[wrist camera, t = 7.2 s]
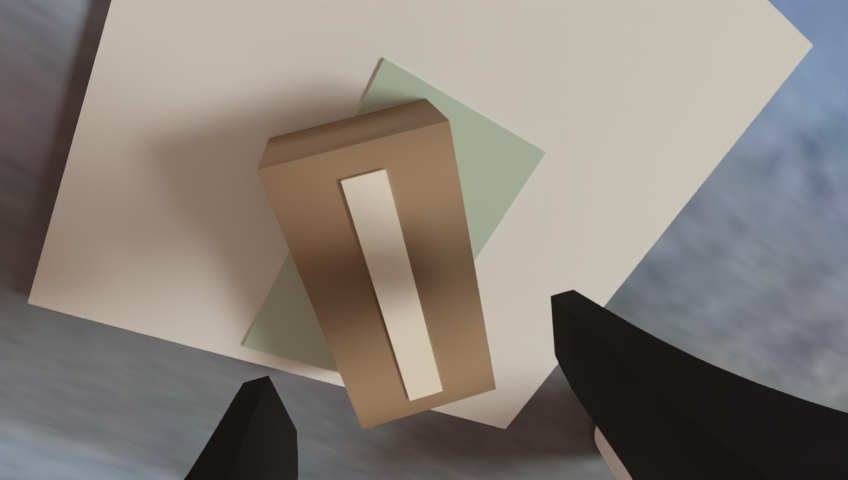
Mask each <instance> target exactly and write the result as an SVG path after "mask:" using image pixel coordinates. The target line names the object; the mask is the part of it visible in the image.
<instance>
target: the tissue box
mask: <svg viewBox="0 0 848 480" xmlns="http://www.w3.org/2000/svg"><path fill="white" fill-rule="evenodd" d="M257 171H258V174H259V176H260V179H261V181H262V184H263V186H264V188H265V191H266V193H267V196H268V198H269V201H270V203H271V206H272V208H273V211H274V213H275V216H276V218H277V220H278V223H279V225H280V228H281V230H282V233H283V235H284V238H285V240H286V243H287V245H288V247H289V250H290V252H291V255H292V257H293V260H294V262H295V265H296V267H297V270H298V272H299V274H300V277H301V279H302V282H303V284H304V287H305V289H306V292H307V294H308V297H309V299H310V302H311V304H312V306H313V309H314V311H315V314H316V316H317V319H318V321H319V324H320V326H321V329H322V331H323V333H324V336H325V338H326V341H327V343H328V346H329V348H330V351H331V353H332V356H333V358H334V360H335V363H336V365H337V368H338V370H339V373H340V375H341V378H342V380H343V383H344V385H345V387H346V390H347V392H348V395H349V397H350V400H351V402H352V405H353V407H354V410H355V412H356V415H357V417H358V419H359V422H360V424H361V427H362V429H367V428H370V427H373V426H376V425H380V424H383V423H386V422H390V421H393V420H396V419H399V418H403V417H406V416H409V415H413V414H416V413H419V412H422V411H426V410H429V409H432V408H436V407H439V406H442V405H445V404H449V403H452V402H455V401H459V400H462V399H465V398H468V397H472V396H475V395H478V394H482V393H485V392H488V391H491V390H495V389H496V386H495V380H494V374H493V368H492V363H491V357H490V351H489V345H488V340H487V334H486V328H485V322H484V317H483V311H482V305H481V299H480V294H479V288H478V282H477V276H476V271H475V265H474V259H473V253H472V248H471V242H470V236H469V230H468V225H467V219H466V213H465V207H464V202H463V196H462V190H461V184H460V179H459V173H458V167H457V161H456V156H455V150H454V144H453V138H452V133H451V127H450V121H449V120H448V119H447V118H446V117H445V116H444V115H443V114H442V113H441V112H440V111H439V110H438V109H437V108H436V107H435V106H434V105H433V104H432V103H431V102H429V101H428V100H427V99H423V100H419V101H415V102H411V103H407V104H403V105H399V106H395V107H391V108H387V109H383V110H379V111H375V112H371V113H367V114H363V115H360V116H356V117H352V118H348V119H344V120H340V121H336V122H332V123H328V124H324V125H320V126H316V127H312V128H308V129H304V130H300V131H296V132H292V133H288V134H284V135H280V136H276V137H272V138H269V140H268V143H267V145H266V148H265V151H264V153H263V156H262V158H261V161H260V163H259V166H258V169H257Z"/></svg>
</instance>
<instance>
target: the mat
mask: <svg viewBox="0 0 848 480" xmlns="http://www.w3.org/2000/svg"><path fill="white" fill-rule="evenodd" d="M812 46H813V45H812V44H811V43H810V42H809V41H808V40H807V39H806V38H805V37H804V36H803V35H802V34H801V33H800V32H799V31H798V30H797V29H796V28H795V27H794V26H793V25H792V24H791V23H790V22H789V21H788V20H787V19H786V18H785V17H784V16H783V15H782V14H781V13H780V12H779V11H778V10H777V9H776V8H775V7H774V6H773V5H772V4H771V3H770V2H769V1H768V0H111V4H110V8H109V11H108V15H107V18H106V22H105V26H104V29H103V33H102V37H101V40H100V44H99V47H98V51H97V55H96V58H95V62H94V65H93V69H92V73H91V76H90V80H89V83H88V87H87V91H86V94H85V98H84V102H83V105H82V109H81V112H80V116H79V120H78V123H77V127H76V130H75V134H74V138H73V141H72V145H71V148H70V152H69V156H68V159H67V163H66V167H65V170H64V174H63V177H62V181H61V185H60V188H59V192H58V195H57V199H56V203H55V206H54V210H53V213H52V217H51V221H50V224H49V228H48V232H47V235H46V239H45V242H44V246H43V250H42V253H41V257H40V260H39V264H38V268H37V271H36V275H35V278H34V282H33V286H32V289H31V293H30V297H29V300H28V304H32V305H36V306H40V307H43V308H47V309H51V310H55V311H58V312H62V313H66V314H70V315H74V316H77V317H81V318H85V319H89V320H93V321H96V322H100V323H104V324H108V325H112V326H115V327H119V328H123V329H127V330H131V331H134V332H138V333H142V334H146V335H150V336H153V337H157V338H161V339H165V340H169V341H172V342H176V343H180V344H184V345H188V346H191V347H195V348H199V349H203V350H206V351H210V352H214V353H218V354H222V355H225V356H229V357H233V358H237V359H241V360H244V361H248V362H252V363H256V364H260V365H263V366H267V367H271V368H275V369H279V370H282V371H286V372H290V373H294V374H298V375H301V376H305V377H309V378H313V379H317V380H320V381H324V382H328V383H332V384H335V385H339V386H343V387H345V385H344V383H343V380H342V378H341V375H340V373H339V370H338V368H337V365H336V363H335V360H334V358H333V356H332V353H331V351H330V348H329V346H328V343H327V341H326V338H325V336H324V333H323V331H322V329H321V326H320V324H319V321H318V319H317V316H316V314H315V311H314V309H313V306H312V304H311V302H310V299H309V297H308V294H307V292H306V289H305V287H304V284H303V282H302V279H301V277H300V274H299V272H298V270H297V267H296V265H295V262H294V260H293V257H292V255H291V252H290V250H289V247H288V245H287V243H286V240H285V238H284V235H283V233H282V230H281V228H280V225H279V223H278V220H277V218H276V216H275V213H274V211H273V208H272V206H271V203H270V201H269V198H268V196H267V193H266V191H265V188H264V186H263V184H262V181H261V179H260V176H259V174H258V171H257V169H258V166H259V163H260V161H261V158H262V156H263V153H264V151H265V148H266V145H267V143H268V140H269V138H272V137H276V136H280V135H284V134H288V133H292V132H296V131H300V130H304V129H308V128H312V127H316V126H320V125H324V124H328V123H332V122H336V121H340V120H344V119H348V118H352V117H356V116H360V115H363V114H367V113H371V112H375V111H379V110H383V109H387V108H391V107H395V106H399V105H403V104H407V103H411V102H415V101H419V100H423V99H427V100H428V101H429V102H431V103H432V104H433V105H434V106H435V107H436V108H437V109H438V110H439V111H440V112H441V113H442V114H443V115H444V116H445V117H446V118H447V119H448V120H449V121H450V127H451V133H452V138H453V144H454V150H455V156H456V161H457V167H458V173H459V179H460V184H461V190H462V196H463V202H464V207H465V213H466V219H467V225H468V230H469V236H470V242H471V248H472V253H473V259H474V265H475V271H476V276H477V282H478V288H479V294H480V299H481V305H482V311H483V317H484V322H485V328H486V334H487V340H488V345H489V351H490V357H491V363H492V368H493V374H494V380H495V386H496V389H495V390H491V391H488V392H485V393H482V394H478V395H475V396H472V397H468V398H465V399H462V400H459V401H455V402H452V403H449V404H445V405H442V406H439V407H436V408H432V409H430V410H434V411H438V412H442V413H446V414H449V415H453V416H457V417H461V418H465V419H468V420H472V421H476V422H480V423H483V424H487V425H491V426H495V427H499V428H502V429H506V428H507V427H508V425H509V424H510V423H511V422H512V420H513V419H514V418H515V417H516V415H517V414H518V413H519V412H520V410H521V409H522V408H523V407H524V405H525V404H526V403H527V402H528V400H529V399H530V398H531V397H532V395H533V394H534V393H535V392H536V390H537V389H538V388H539V387H540V386H541V384H542V383H543V382H544V381H545V379H546V378H547V377H548V376H549V374H550V373H551V372H552V371H553V369H554V368H555V367H556V366H557V364H558V361H557V359H556V357H555V352H554V338H553V324H552V310H551V296H552V295H555V294H559V293H562V292H566V291H570V290H575V291H577V292H579V293H580V294H582V295H584V296H585V297H587V298H589V299H590V300H592V301H594V302H595V303H597V304H599V305H600V306H602V307H604V306H605V304H606V303H607V302H608V301H609V299H610V298H611V297H612V296H613V294H614V293H615V292H616V291H617V289H618V288H619V287H620V286H621V285H622V283H623V282H624V281H625V280H626V278H627V277H628V276H629V275H630V273H631V272H632V271H633V270H634V268H635V267H636V266H637V265H638V263H639V262H640V261H641V260H642V258H643V257H644V256H645V255H646V253H647V252H648V251H649V250H650V248H651V247H652V246H653V245H654V243H655V242H656V241H657V240H658V238H659V237H660V236H661V235H662V233H663V232H664V231H665V230H666V228H667V227H668V226H669V225H670V223H671V222H672V221H673V220H674V218H675V217H676V216H677V215H678V213H679V212H680V211H681V210H682V208H683V207H684V206H685V205H686V203H687V202H688V201H689V200H690V198H691V197H692V196H693V195H694V193H695V192H696V191H697V190H698V189H699V187H700V186H701V185H702V184H703V182H704V181H705V180H706V179H707V177H708V176H709V175H710V174H711V172H712V171H713V170H714V169H715V167H716V166H717V165H718V164H719V162H720V161H721V160H722V159H723V157H724V156H725V155H726V154H727V152H728V151H729V150H730V149H731V147H732V146H733V145H734V144H735V142H736V141H737V140H738V139H739V137H740V136H741V135H742V134H743V132H744V131H745V130H746V129H747V127H748V126H749V125H750V124H751V122H752V121H753V120H754V119H755V117H756V116H757V115H758V114H759V112H760V111H761V110H762V109H763V107H764V106H765V105H766V104H767V102H768V101H769V100H770V99H771V97H772V96H773V95H774V94H775V92H776V91H777V90H778V89H779V88H780V86H781V85H782V84H783V83H784V81H785V80H786V79H787V78H788V76H789V75H790V74H791V73H792V71H793V70H794V69H795V68H796V66H797V65H798V64H799V63H800V61H801V60H802V59H803V58H804V56H805V55H806V54H807V53H808V51H809V50H810V49H811V48H812Z"/></svg>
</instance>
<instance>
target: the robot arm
mask: <svg viewBox="0 0 848 480" xmlns="http://www.w3.org/2000/svg"><path fill="white" fill-rule="evenodd" d="M551 310H552V324H553V338H554V352H555V357H556V359H557V361H558V363H559V365H560V367H561V369H562V371H563V373H564V375H565V377H566V378H567V380H568V382H569V384H570V386H571V388H572V390H573V391H574V393H575V394H576V396H577V397H578V399H579V400H580V402H581V403H582V405H583V406H584V408H585V409H586V411H587V412H588V414H589V415H590V417H591V418H592V420H593V421H594V423H595V424H596V426H597V427H598V429H599V430H600V432H601V433H602V435H603V436H604V437H605V439H606V440H607V442H608V443H609V445H610V446H611V448H612V449H613V451H614V452H615V454H616V455H617V457H618V458H619V460H620V461H621V462H622V464H623V465H624V467H625V468H626V470H627V472H628V473H629V475H630V476H631V478H632V480H848V413H846V412H842V411H839V410H835V409H832V408H829V407H825V406H822V405H819V404H816V403H813V402H810V401H806V400H803V399H801V398H798V397H795V396H792V395H789V394H786V393H783V392H781V391H778V390H775V389H772V388H769V387H766V386H764V385H761V384H758V383H756V382H753V381H750V380H748V379H745V378H743V377H740V376H738V375H736V374H733V373H731V372H728V371H726V370H724V369H721V368H719V367H716V366H714V365H712V364H709V363H707V362H705V361H703V360H701V359H698V358H696V357H694V356H692V355H690V354H688V353H686V352H684V351H682V350H680V349H678V348H676V347H674V346H672V345H670V344H668V343H666V342H664V341H662V340H660V339H658V338H656V337H654V336H652V335H651V334H649V333H647V332H645V331H643V330H641V329H640V328H638V327H636V326H634V325H633V324H631V323H629V322H627V321H626V320H624V319H622V318H620V317H619V316H617V315H615V314H614V313H612V312H610V311H609V310H607V309H605V308H604V307H602V306H600V305H599V304H597V303H595V302H594V301H592V300H590V299H589V298H587V297H585V296H584V295H582V294H580V293H579V292H577V291H575V290H570V291H566V292H562V293H559V294H555V295H552V296H551ZM184 480H298V450H297V430H296V428H295V426H294V424H293V423H292V421H291V419H290V417H289V415H288V413H287V411H286V409H285V407H284V405H283V403H282V401H281V399H280V397H279V395H278V393H277V391H276V389H275V387H274V385H273V383H272V381H271V380H270V378H269V376H266V377H262V378H259V379H255V380H252V381H248V382H245V383H243V385H242V386H241V388H240V390H239V391H238V393H237V394H236V396H235V398H234V399H233V401H232V403H231V404H230V406H229V408H228V409H227V411H226V413H225V415H224V416H223V418H222V420H221V421H220V423H219V425H218V426H217V428H216V430H215V431H214V433H213V435H212V436H211V438H210V440H209V441H208V443H207V444H206V446H205V448H204V449H203V451H202V453H201V454H200V456H199V457H198V459H197V461H196V462H195V464H194V466H193V467H192V469H191V470H190V472H189V473H188V475H187V476H186V478H185V479H184Z"/></svg>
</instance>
